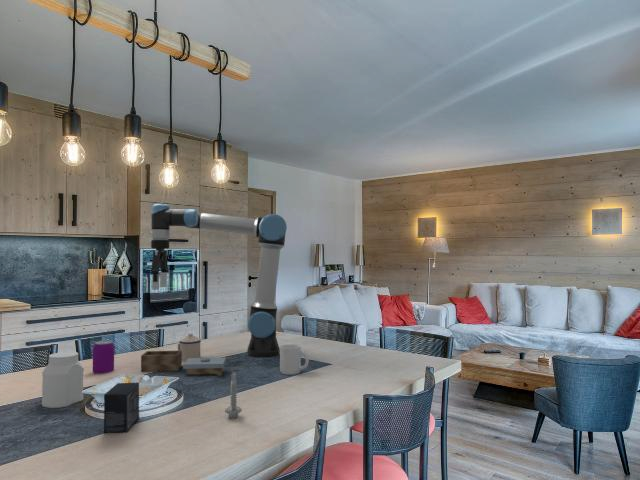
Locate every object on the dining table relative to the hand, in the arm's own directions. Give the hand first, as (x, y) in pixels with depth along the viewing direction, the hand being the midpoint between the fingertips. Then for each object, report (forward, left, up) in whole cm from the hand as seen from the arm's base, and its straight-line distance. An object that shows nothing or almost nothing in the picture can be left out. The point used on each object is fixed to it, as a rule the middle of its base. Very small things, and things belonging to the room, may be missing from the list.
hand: (159, 288), depth 200 cm
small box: (-8, +74, -32) cm, 81 cm away
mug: (-58, +23, -32) cm, 70 cm away
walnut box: (-5, +16, -32) cm, 36 cm away
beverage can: (+17, +17, -32) cm, 40 cm away
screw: (-38, +70, -32) cm, 86 cm away
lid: (-23, +22, -28) cm, 43 cm away
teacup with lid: (-12, -2, -32) cm, 34 cm away
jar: (+17, +52, -32) cm, 63 cm away
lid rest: (-23, +22, -32) cm, 45 cm away
